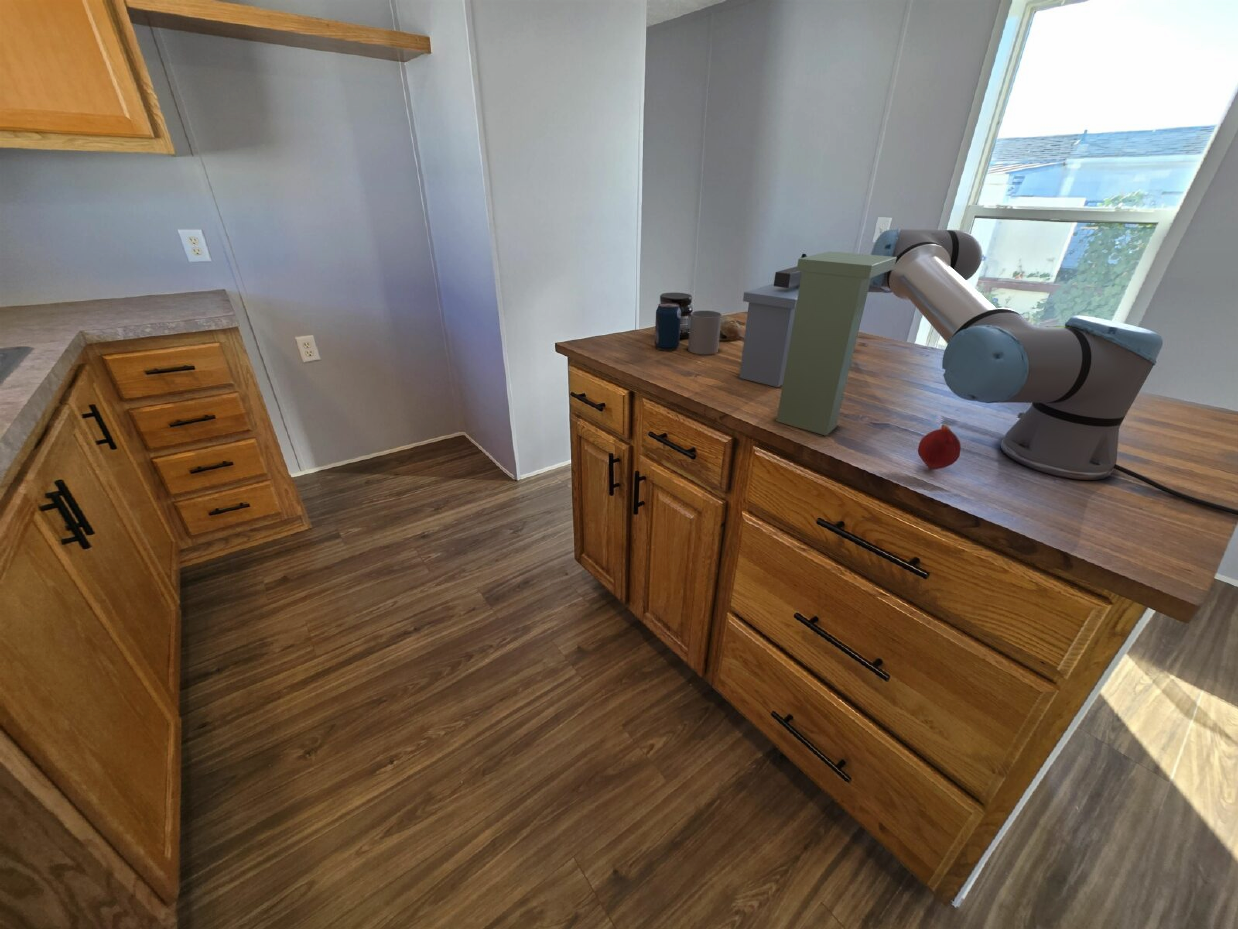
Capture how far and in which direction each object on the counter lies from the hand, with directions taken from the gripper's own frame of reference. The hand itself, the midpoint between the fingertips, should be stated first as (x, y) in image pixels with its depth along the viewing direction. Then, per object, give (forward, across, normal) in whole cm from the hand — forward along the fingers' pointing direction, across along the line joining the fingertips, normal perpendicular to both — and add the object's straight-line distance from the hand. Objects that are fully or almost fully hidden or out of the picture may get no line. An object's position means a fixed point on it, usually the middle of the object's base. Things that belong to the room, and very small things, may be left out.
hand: (810, 260), depth 120 cm
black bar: (+1, 0, -6) cm, 6 cm away
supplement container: (-14, +39, -21) cm, 47 cm away
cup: (-8, +24, -25) cm, 35 cm away
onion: (+21, -41, -41) cm, 62 cm away
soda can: (-4, +33, -27) cm, 43 cm away
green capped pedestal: (+14, -18, -37) cm, 43 cm away
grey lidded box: (-4, 0, -27) cm, 27 cm away
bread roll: (-22, +27, -17) cm, 39 cm away
